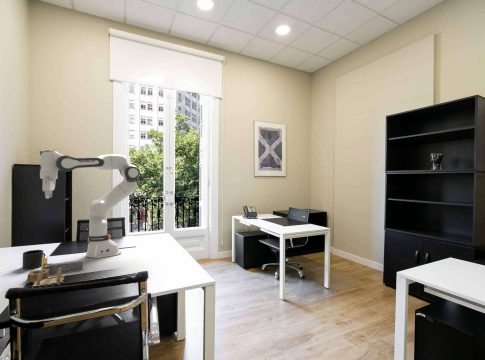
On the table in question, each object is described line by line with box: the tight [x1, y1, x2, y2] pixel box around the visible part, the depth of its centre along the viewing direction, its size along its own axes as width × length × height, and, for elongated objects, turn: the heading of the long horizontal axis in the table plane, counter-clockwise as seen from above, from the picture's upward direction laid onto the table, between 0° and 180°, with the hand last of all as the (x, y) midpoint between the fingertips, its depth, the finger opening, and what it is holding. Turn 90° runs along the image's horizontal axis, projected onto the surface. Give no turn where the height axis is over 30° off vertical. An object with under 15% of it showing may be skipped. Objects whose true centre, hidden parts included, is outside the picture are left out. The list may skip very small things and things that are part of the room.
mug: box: [22, 249, 46, 270], centre depth 151 cm, size 9×12×9 cm
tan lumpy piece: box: [26, 269, 50, 284], centre depth 132 cm, size 8×7×4 cm
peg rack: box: [32, 268, 65, 287], centre depth 128 cm, size 12×8×6 cm, turn 121°
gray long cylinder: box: [44, 259, 84, 276], centre depth 144 cm, size 18×5×5 cm, turn 121°
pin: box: [40, 255, 48, 270], centre depth 144 cm, size 3×3×8 cm
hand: (48, 197), depth 158 cm, fingers open, 8 cm apart
